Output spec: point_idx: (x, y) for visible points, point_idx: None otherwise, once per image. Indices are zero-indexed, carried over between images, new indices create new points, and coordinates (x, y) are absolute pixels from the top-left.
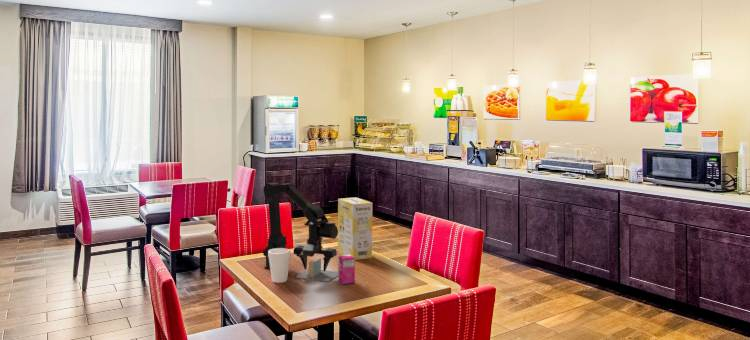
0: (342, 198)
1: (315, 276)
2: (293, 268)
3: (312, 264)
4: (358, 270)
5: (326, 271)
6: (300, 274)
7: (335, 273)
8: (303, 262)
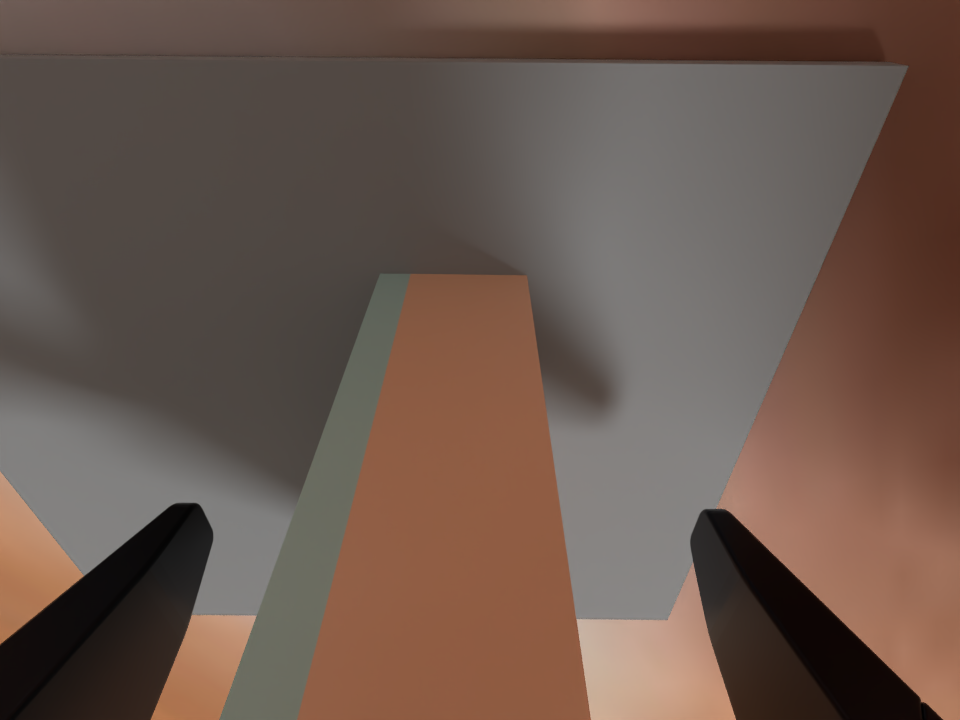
0: None
1: None
2: (941, 588)
3: (324, 612)
4: None
5: None
6: (780, 349)
7: None
8: (876, 708)
